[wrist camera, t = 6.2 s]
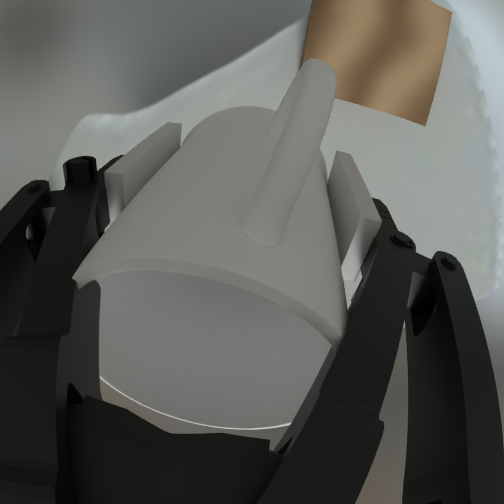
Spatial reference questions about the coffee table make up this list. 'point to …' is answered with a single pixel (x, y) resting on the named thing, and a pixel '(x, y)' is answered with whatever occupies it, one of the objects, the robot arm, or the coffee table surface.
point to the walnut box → (381, 51)
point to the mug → (227, 268)
